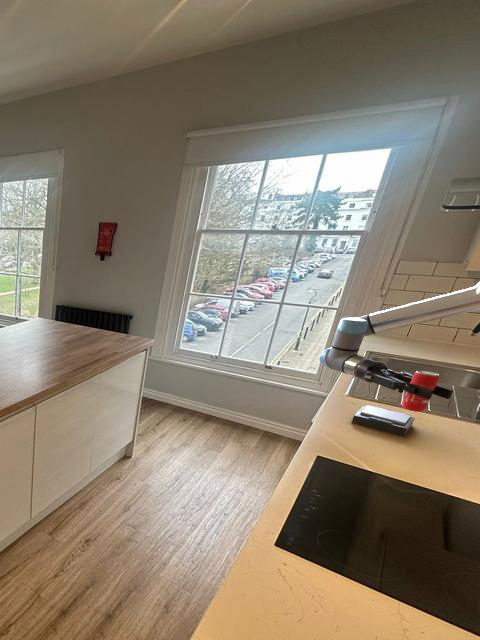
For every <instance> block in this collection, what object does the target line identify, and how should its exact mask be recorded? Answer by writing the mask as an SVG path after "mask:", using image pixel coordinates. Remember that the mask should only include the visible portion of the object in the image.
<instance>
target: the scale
mask: <svg viewBox="0 0 480 640" xmlns="http://www.w3.org/2000/svg"><path fill="white" fill-rule="evenodd" d="M415 420H416V419H415V417H413V416H412V415H410V414H406V413H403V412H399V411H398V412H397V411H395V410H389V409H386V408H381V407H377V406H372V405H363V406H362V407H361V408H360V409H359V410H358V411H357V412H356V413H355V414H354V415H353V417H352V420H351V422H350V423H352V424H354V425H358V426H363V427H365V428H370V429H373V430H377V431H380V432H383V433H389V434H392V435H395V436H399V437H405V435H406V434H407V433H408V432H409V430H410V429H411V427H412V426H413V424H414V421H415Z"/></svg>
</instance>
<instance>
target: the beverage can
mask: <svg viewBox="0 0 480 640" xmlns="http://www.w3.org/2000/svg"><path fill="white" fill-rule="evenodd" d="M412 375H413V378H412V380H411V383H412V384H415V385H418V386H421V387H424V388H427V389H430V390H433V391H434V389H435V387H436V385H438V382H439V380H440V374H439V373H437V372H434V371H430V370H429V371H428V370H416V372H414V373H413V374H412ZM405 392H406V391H405ZM430 400H431V399H425V398H422V397H420V396H417V395H414V394H411V393H409V392H406V393H405V395H404V397H403V399H402V402H401V405H402V408H403V409H404V410H407V411H411V412H417V413H421V412H423V411H425V410H426V409H427V407H428V405H429V402H430Z"/></svg>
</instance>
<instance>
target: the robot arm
mask: <svg viewBox="0 0 480 640" xmlns="http://www.w3.org/2000/svg"><path fill="white" fill-rule="evenodd" d="M475 311H480V282H477V284H476V285H475V286H473V287H469V288H466V289H462V290H458V291H454V292H451V293H447V294H443V295H439V296H435V297H432V298H427V299H423V300H420V301H417V302H411V303H408V304H404V305H401V306H397V307H393V308H390V309H386V310H380V311H377V312H374V313H370V314H366V315H363V316H359V317H358V316H357V317H356V316H355V317H343V318H341V319H340V321H339V324H338V325H337V329H336V333H335V334H334V335H335V336H334V338H333V342H332V345H331V347H328V348H325V349H324V350H323V352H322V353H320V356H319V362H320V364H322V365H323V366H324V367H327V368H329V369H331V370H334V371H337V372H340V373H343V374H345V375H347V376H348V375H349V376H351V377H352V378H353V379H358V380H361V381H364V382H367V383H370V384H371V383H372V384H373V383H374V384H377V385H379V386H382V387H385V388H387V389H390V390H391V391H392V390H393V391H396V390H398V391H397V392H398V393H399V394H403V393H404V392H409V393H411V394H414V395H417V396H420V397H422V398H425V399H430V400H431V399H432V396H433V395H435V396H437V397H439V398H443V399H447V400H450V399H451V397H452V395H453V392H454V390H453V389H450V388H448V387H444V386H441V385H438V384H436V387H435V389H434V391H433V390H430V389H427V388H424V387H421V386H418V385H415V384H412V383H411V380H412V378H413V375H414V374H412V373H409V372H407V371H401V372H400V371H399V372H398V371H396V370H393V369H389V368H388V367H387V365H386V364H385V363H384V362H382V361H379V360H376V359H372V358H369V357H367V356H364V355H360V354H359V351H360V348H361V345H362V343H363V340H364V338H365V337H369V336H372V335H377V334H379V333H384V332H389V331H393V330H397V329H402V328H406V327H410V326H414V325H415V326H416V325H419V324H423V323H428V322H432V321H436V320H441V319H446V318H450V317H453V316H454V317H455V316H459V315H463V314H468V313H471V312H475Z"/></svg>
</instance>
